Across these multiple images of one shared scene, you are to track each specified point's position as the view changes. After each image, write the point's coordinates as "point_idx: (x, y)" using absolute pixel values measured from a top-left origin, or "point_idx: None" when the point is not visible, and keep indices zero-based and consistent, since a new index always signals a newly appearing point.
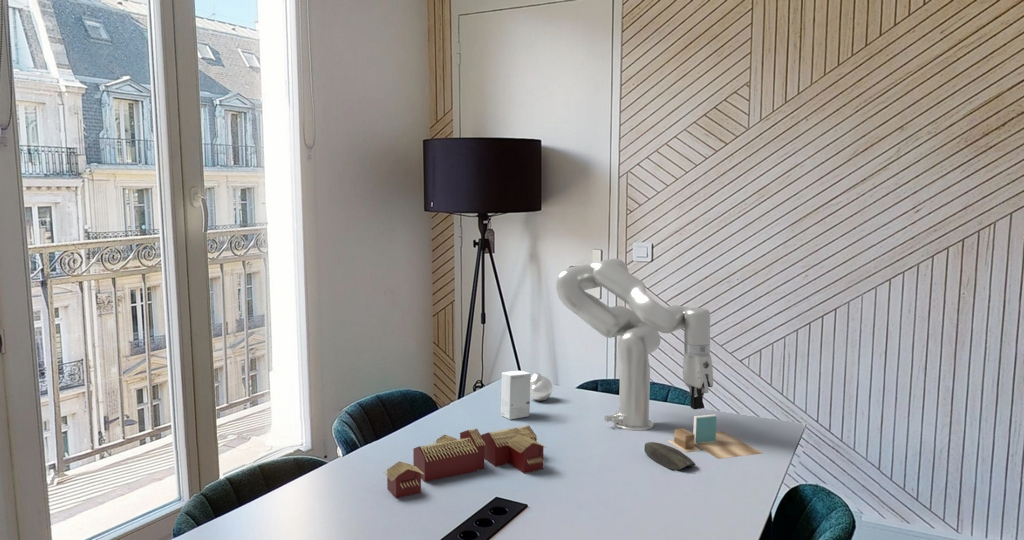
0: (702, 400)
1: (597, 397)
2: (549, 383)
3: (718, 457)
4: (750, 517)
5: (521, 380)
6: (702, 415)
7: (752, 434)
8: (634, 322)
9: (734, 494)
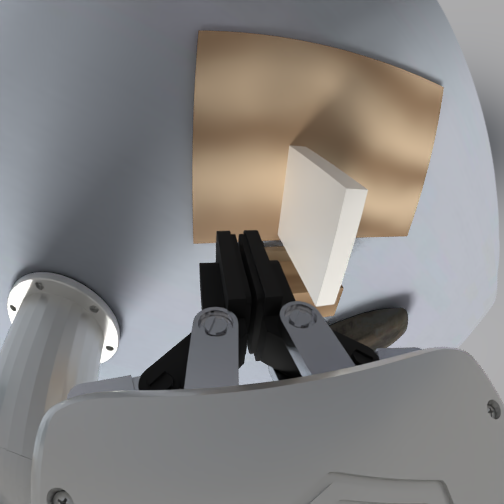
0: (271, 266)
1: None
2: None
3: (403, 230)
4: (491, 292)
5: None
6: (328, 265)
7: None
8: None
9: (470, 283)
